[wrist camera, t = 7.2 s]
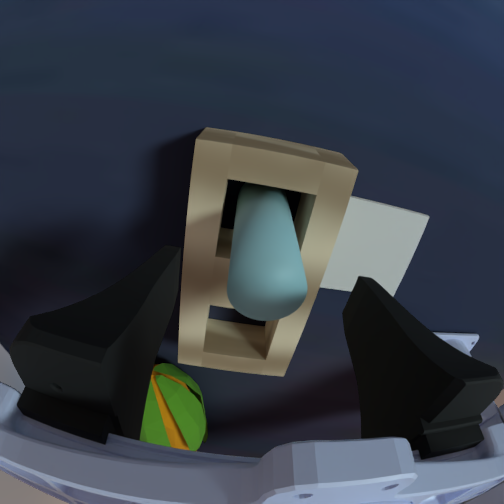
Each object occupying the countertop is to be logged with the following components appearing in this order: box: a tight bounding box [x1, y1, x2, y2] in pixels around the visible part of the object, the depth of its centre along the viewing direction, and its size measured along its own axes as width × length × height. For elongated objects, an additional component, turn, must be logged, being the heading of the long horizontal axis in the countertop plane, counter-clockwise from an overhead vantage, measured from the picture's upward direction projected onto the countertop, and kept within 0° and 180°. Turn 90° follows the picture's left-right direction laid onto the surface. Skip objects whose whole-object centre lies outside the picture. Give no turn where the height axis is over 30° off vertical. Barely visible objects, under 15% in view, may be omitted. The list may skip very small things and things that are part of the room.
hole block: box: [178, 127, 358, 376], centre depth 20 cm, size 16×8×4 cm, turn 170°
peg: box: [227, 182, 307, 321], centre depth 16 cm, size 3×3×9 cm
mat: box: [320, 196, 429, 297], centre depth 21 cm, size 7×7×1 cm
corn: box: [140, 363, 208, 451], centre depth 28 cm, size 7×8×20 cm
